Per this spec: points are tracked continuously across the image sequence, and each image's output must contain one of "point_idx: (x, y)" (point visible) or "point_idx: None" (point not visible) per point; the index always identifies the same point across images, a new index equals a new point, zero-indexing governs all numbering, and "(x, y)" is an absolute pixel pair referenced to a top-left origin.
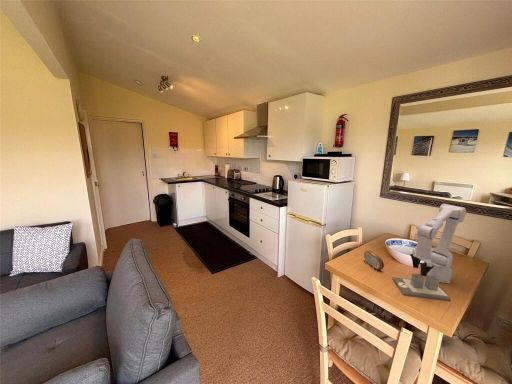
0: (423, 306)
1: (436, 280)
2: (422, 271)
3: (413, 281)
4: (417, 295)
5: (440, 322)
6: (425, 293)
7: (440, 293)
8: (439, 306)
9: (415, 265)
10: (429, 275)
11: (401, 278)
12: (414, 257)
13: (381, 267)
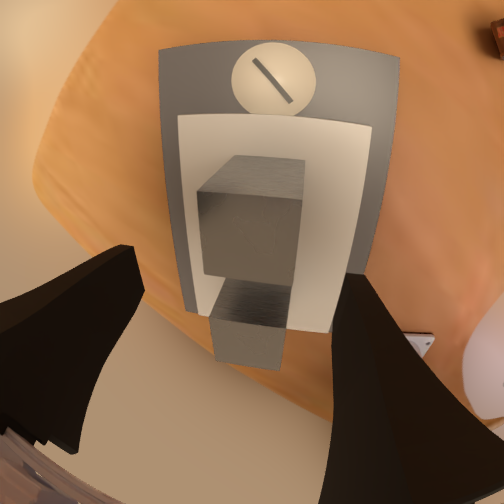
0: (96, 137)
1: (214, 344)
2: (60, 285)
3: (253, 169)
4: (164, 140)
5: (37, 167)
6: (185, 205)
7: (209, 295)
8: (124, 223)
9: (346, 324)
10: (278, 345)
11: (389, 131)
12: (370, 483)
13: (500, 31)
